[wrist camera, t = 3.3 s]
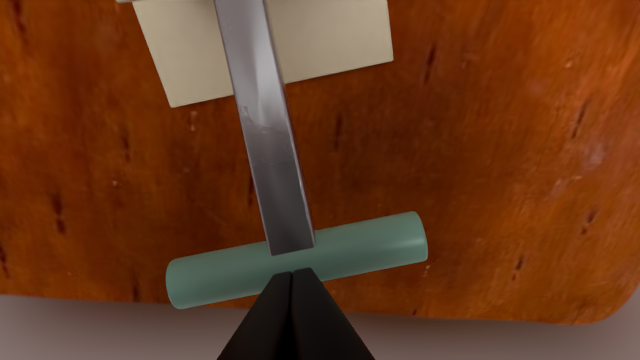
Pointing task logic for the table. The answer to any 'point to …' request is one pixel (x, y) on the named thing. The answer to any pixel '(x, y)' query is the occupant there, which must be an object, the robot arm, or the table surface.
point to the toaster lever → (281, 188)
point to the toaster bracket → (290, 33)
